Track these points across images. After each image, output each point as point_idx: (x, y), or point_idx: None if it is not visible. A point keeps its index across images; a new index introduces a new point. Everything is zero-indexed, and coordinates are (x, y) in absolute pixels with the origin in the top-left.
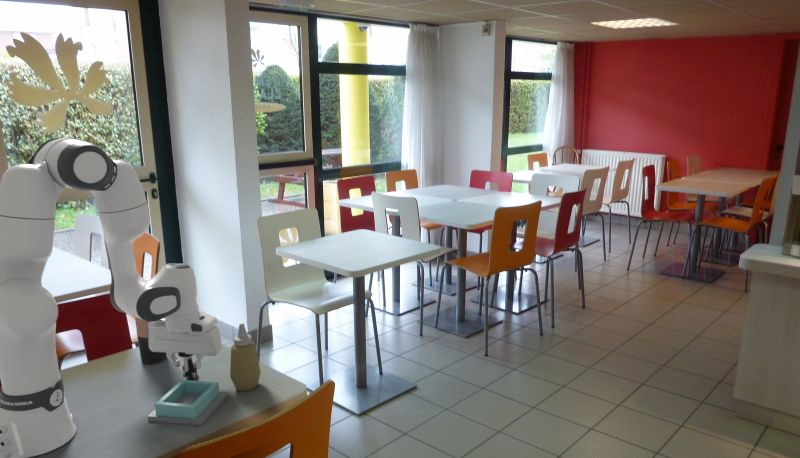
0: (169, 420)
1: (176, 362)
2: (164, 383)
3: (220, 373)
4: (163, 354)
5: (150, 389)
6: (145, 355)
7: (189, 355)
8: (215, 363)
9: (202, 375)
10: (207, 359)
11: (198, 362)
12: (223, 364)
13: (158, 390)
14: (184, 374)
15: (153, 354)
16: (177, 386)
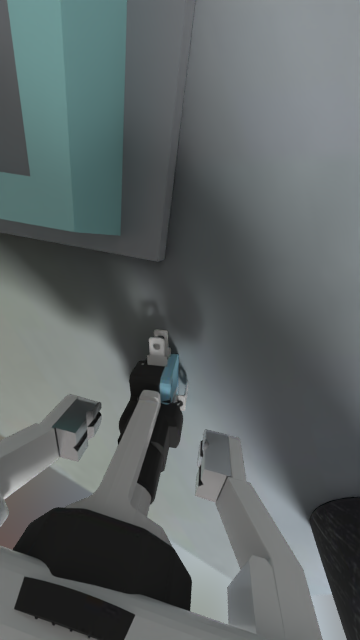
0: None
1: (207, 465)
2: (269, 349)
3: None
4: (329, 544)
5: (336, 293)
6: None
7: (40, 523)
8: None
9: (126, 394)
10: (158, 482)
11: (23, 429)
12: (92, 448)
13: (284, 280)
14: (161, 375)
15: None
16: (29, 49)
